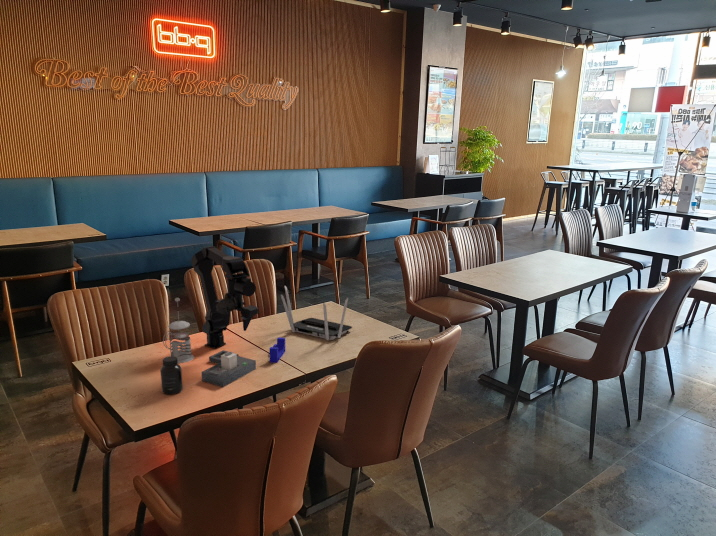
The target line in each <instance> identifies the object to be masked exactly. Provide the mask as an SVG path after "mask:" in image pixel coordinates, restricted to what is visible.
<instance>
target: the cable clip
mask: <svg viewBox="0 0 716 536" xmlns="http://www.w3.org/2000/svg"><path fill="white" fill-rule="evenodd" d="M285 353H286V338H285V337H277V339H276V343H274V344H273V345H272V346H269V363H272V364H273V363H274V364H276V363H277V364H278V363H279V361H280V360H281V358H282V357H283V355H284V354H285Z"/></svg>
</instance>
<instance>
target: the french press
mask: <svg viewBox="0 0 716 536" xmlns="http://www.w3.org/2000/svg"><path fill="white" fill-rule="evenodd" d="M174 301H175V302H176V303H177V304H176V305H177V306H179V302H180V301H181V299H180V298H179V297H175V298H174ZM179 314H180V313H179V312H177V318H178V320H177V321H176V320H175V321H173V322H171V323H170V324H168V326H167V327H168V328H169V330H167V331H166V332H165V333H164V335H163V338H162V344H163V346H164V347H165V348H166V349H168V350H169V352H170V353H169V354H170V356H175V357H177V361H178V364H184V363H189V362H190V361H193V360H194V359H195V355H193V354H192V345H191V344H192V343H191V337H190V333H189V332H185V331H182V332H181V331H180V330H184V329H188V328H190V325H191V324H190V323H189V322H188V321H185V320H180V315H179ZM170 330H172V331H173V330H175V331H178V332H174V333H173V332H172V331H170ZM169 335H170V337H169V347H168V345H167V337H168V336H169ZM165 336H166V337H165Z"/></svg>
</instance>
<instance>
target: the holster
mask: <svg viewBox="0 0 716 536" xmlns="http://www.w3.org/2000/svg"><path fill="white" fill-rule="evenodd" d="M227 352H229V351H228V350H224V349H223V350H221V351H218V352H217V353H214V354H212V355H210V356H208V361H209V362H210V363H213V364H215V365H216V364H218V363H220V362H221V355H223V354H225V353H227ZM234 353H235V352H234ZM235 354H237V356H239V353H235Z"/></svg>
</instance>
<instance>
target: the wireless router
mask: <svg viewBox="0 0 716 536" xmlns="http://www.w3.org/2000/svg"><path fill="white" fill-rule="evenodd" d="M284 292H285V296H284V295H283V294H280V298H281V301H282V304H283V307H284V310H285V313H286V317H287V320H288V322H289V327H290V329H291V332H292V333H295V332H296V333H299V334H304V335H309V336H313V337H317V338H322V339H325V340H326V341H334V340H335V339H337V338H338V339H341V336H342V335H344V334H346V333H348V332H349V331H350V330H351V329H353V326H352V325H346V324H344V321H345V316H346V311H347V307H348V301H349V297H347V298H346V299H345V301H344V305H343V309H342V310H343V311H342V314H341V320H340V323H339V322H338V323H337V322H334V321H329V320H328V314H327V311H328V310H327V305H326V303H322V306H323V309H322V310H323V317H324V318H323V319H320V318H315V317H308V318H305V319H302V320H298V321H296V322H294V316H293V311H292V307H291V301H290V295H289V292H288V287H287V286H286V285H284ZM285 297H286V300H285ZM347 331H348V332H347Z"/></svg>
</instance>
